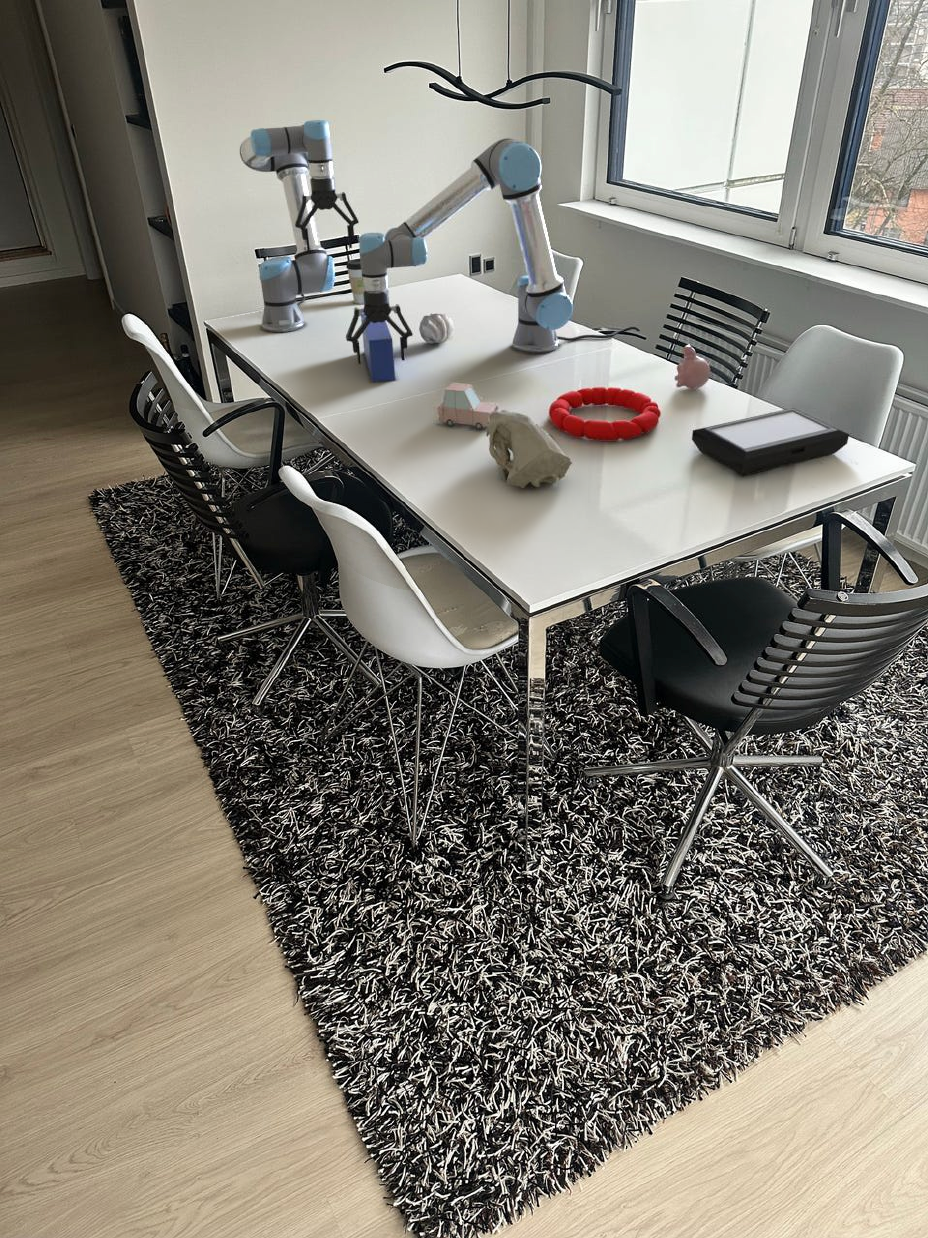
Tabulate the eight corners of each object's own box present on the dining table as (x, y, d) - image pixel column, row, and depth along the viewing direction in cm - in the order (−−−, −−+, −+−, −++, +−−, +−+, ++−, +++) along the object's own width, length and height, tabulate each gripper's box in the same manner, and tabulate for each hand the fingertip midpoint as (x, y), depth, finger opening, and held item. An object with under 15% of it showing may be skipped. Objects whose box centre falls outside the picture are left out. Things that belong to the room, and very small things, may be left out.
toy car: (488, 432, 240) (488, 396, 234) (436, 426, 244) (434, 390, 239) (499, 419, 247) (499, 384, 241) (448, 413, 252) (447, 379, 246)
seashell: (411, 342, 306) (409, 313, 300) (450, 335, 312) (448, 306, 306) (425, 350, 298) (423, 320, 293) (464, 342, 304) (463, 313, 299)
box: (364, 352, 299) (360, 313, 292) (385, 350, 300) (382, 311, 293) (372, 382, 275) (368, 340, 268) (395, 380, 276) (392, 338, 269)
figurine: (665, 387, 264) (669, 347, 257) (693, 380, 268) (698, 340, 261) (686, 396, 257) (690, 355, 250) (714, 388, 262) (720, 348, 255)
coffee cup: (373, 304, 347) (369, 264, 338) (348, 305, 347) (344, 264, 339) (375, 297, 355) (372, 258, 347) (351, 298, 355) (347, 258, 347)
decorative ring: (589, 435, 224) (684, 402, 234) (527, 398, 247) (617, 369, 256) (589, 461, 229) (683, 427, 238) (529, 422, 251) (617, 393, 260)
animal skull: (496, 517, 219) (521, 479, 201) (463, 429, 225) (484, 384, 207) (557, 503, 225) (586, 465, 206) (523, 417, 231) (549, 373, 212)
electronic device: (744, 456, 208) (693, 426, 223) (740, 480, 212) (690, 450, 227) (850, 430, 218) (794, 404, 233) (844, 454, 222) (789, 427, 237)
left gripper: (281, 180, 274) (291, 253, 286) (362, 176, 277) (368, 248, 289) (281, 177, 280) (290, 248, 292) (360, 172, 283) (366, 243, 295)
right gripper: (334, 296, 259) (341, 368, 271) (419, 290, 262) (422, 361, 274) (332, 289, 265) (340, 360, 277) (415, 283, 268) (419, 353, 280)
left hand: (329, 248), depth 291 cm, fingers open, 13 cm apart
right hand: (381, 361), depth 275 cm, fingers open, 13 cm apart
